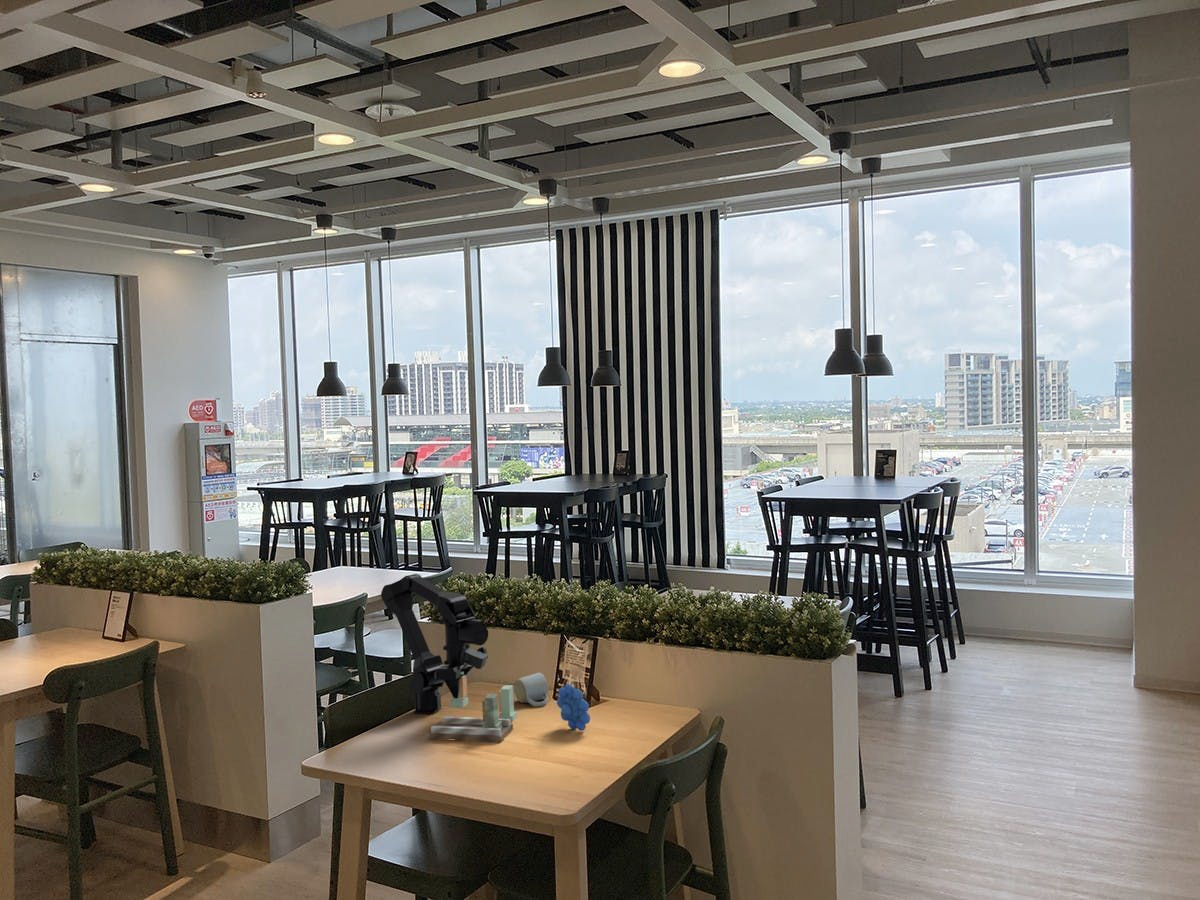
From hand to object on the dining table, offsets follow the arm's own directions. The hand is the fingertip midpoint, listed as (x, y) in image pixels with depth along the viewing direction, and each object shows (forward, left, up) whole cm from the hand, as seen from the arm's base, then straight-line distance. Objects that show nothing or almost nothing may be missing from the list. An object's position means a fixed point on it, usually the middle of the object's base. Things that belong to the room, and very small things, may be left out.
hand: (458, 696), depth 270 cm
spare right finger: (+14, +1, -6) cm, 15 cm away
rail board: (+8, -12, -6) cm, 16 cm away
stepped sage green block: (0, 0, -3) cm, 3 cm away
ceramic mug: (+17, +17, -7) cm, 25 cm away
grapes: (+34, -6, -7) cm, 35 cm away
